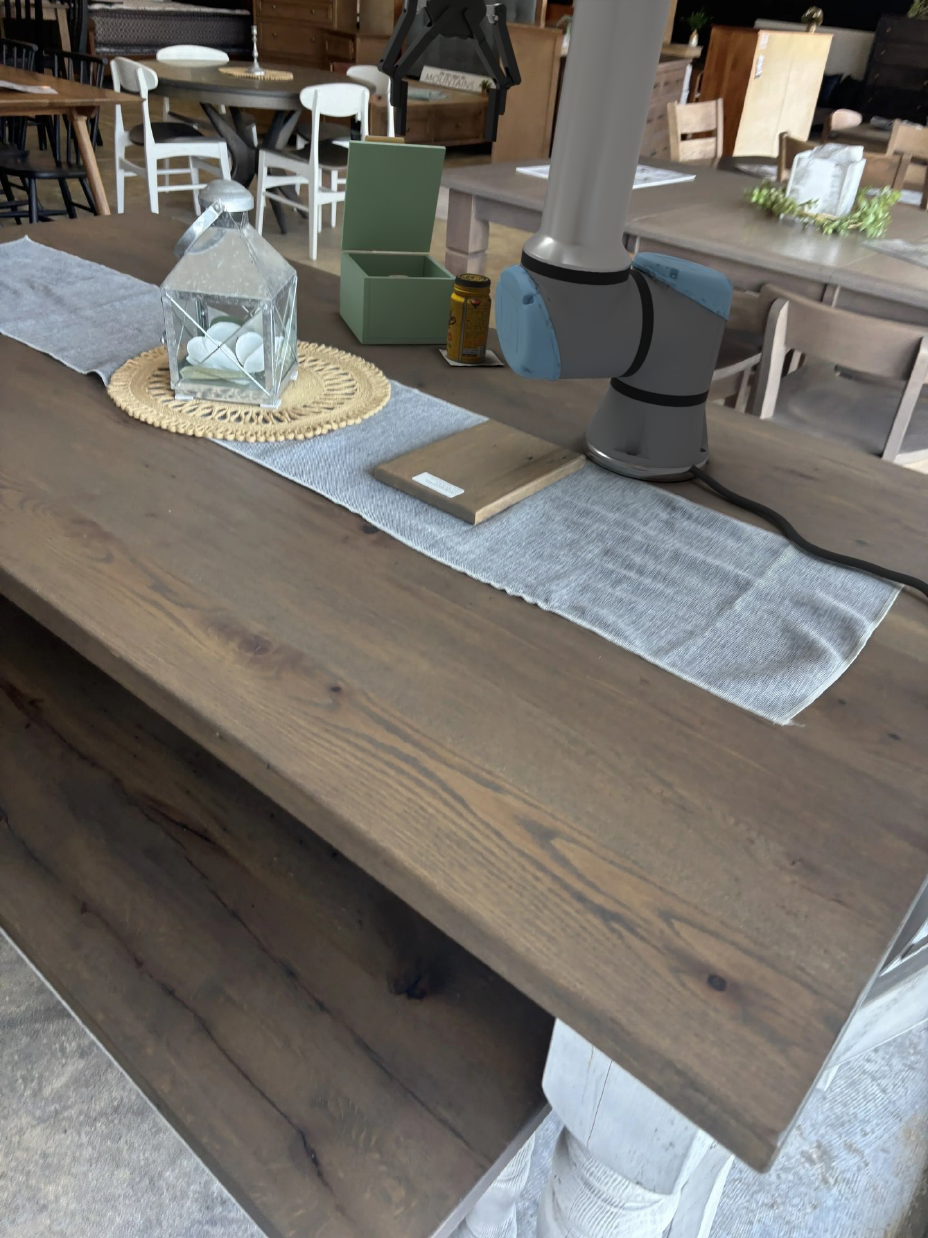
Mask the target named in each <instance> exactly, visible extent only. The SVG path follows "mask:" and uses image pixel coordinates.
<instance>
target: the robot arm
mask: <svg viewBox="0 0 928 1238" xmlns="http://www.w3.org/2000/svg"><path fill="white" fill-rule="evenodd" d="M671 4H672V0H574V7H573V14H572V20H571V27H570V33H569V39H568V46H567V53H566V58H565V59H566V60H565V66H564V71H563V78H562V85H561V91H560V98H559V103H558V104H559V105H558V111H557V116H556V117H557V118H556V124H555V130H554V138H553V143H552V148H551V155H550V163H549V169H548V175H547V182H546V188H545V195H544V201H543V208H542V213H541V221H540V227H539V229H538V230H537V231H536V232H535V233H534V234H532V235H531V236H530V237H529V238H527V239H526V240H525V241H524V242H523V243H522V250H521V256H520V262H519V264H512V265H510V266H507V267H506V268H504V269H503V270H502V271H501V273H500V275H499V278H498V279H497V283H496V287H495V294H494V318H495V327H496V333H497V338H498V341H499V345H500V349H501V352H502V354H503V356H504V359H505V361H506V363H507V364H508V366H509V367H510V368H511V370H512V371H513V372H514V373H515V374H516V375H518V376H519V377H522V378H524V379H533V380H534V379H535V380H547V381H551V382H556V381H558V380H581V379H583V380H584V379H610V381H609V386H608V390H607V391H606V393H605V394H604V397H603V399H602V401H601V402H600V403H599V406H598V408H597V409H596V411H595V413H594V414H593V418H592V419H591V421H590V423H589V424H588V426H587V428H586V430H585V432H584V438H583V445H582V449H583V451H584V453H585V454H586V456H587V458H589V459H590V460H592V462H594V463H596V464H597V465H598V466H600V467H603V468H605V469H606V470H609V471H611V472H614V473H617V474H619V475H623V476H626V477H629V478H635V479H639V480H644V481H651V482H654V481H655V482H680V481H681V482H682V481H686V480H690V479H693V478H695V477H696V478H698V479H699V480H701V482H703V483H705V484H706V485H707V486H708V487H710V488H711V489H712V490H713V491H715V492H716V493H717V494H719V495H720V496H722V497H723V498H725V499H727V500H729V501H731V502H733V503H735V504H737V505H739V506H742V507H744V508H747V509H749V510H752V511H754V512H757V513H758V514H761V515H763V516H764V517H766V518H768V519H770V520H771V521H773V522H775V523H776V524H777V525H778V526H779V527H780V528H781V529H782V531H783V532H784V534H785V535H786V537H788V538H789V539H790V540H791V541H792V543H794V544H795V545H796V546H798V547H799V548H800V549H802V550H803V551H805V552H807V553H808V554H811V555H812V556H815V557H817V558H820V559H822V560H826V561H829V562H832V563H836V564H840V565H842V566H843V565H844V566H847V567H851V568H854V569H858V570H861V571H865V572H867V573H870V574H872V575H876V576H878V577H880V578H882V579H886V580H889V581H892V582H896V583H899V584H903V585H906V586H909V587H912V588H914V589H916V590H917V591H919V592H921V593H922V594H923V595H924V596H925V597H926V598H927V599H928V583H927V582H925V581H924V580H921V579H919V578H918V577H915V576H911V575H909V574H905V573H903V572H898V571H895V570H891V569H889V568H886V567H883V566H880V565H878V564H875V563H872V562H870V561H867V560H863V559H860V558H857V557H853V556H849V555H845V554H842V553H837V552H834V551H831V550H827V549H825V548H822V547H820V546H817V545H815V544H814V543H812V542H809V541H808V540H806V539H805V538H804V537H802V535H801V534H799V533H798V532H797V530H796V529H795V528H794V526H793V525H792V524H791V523H790V522H789V521H788V519H786V518H785V517H784V516H783V515H781V514H780V513H778V512H777V511H775V510H774V509H772V508H770V507H768V506H766V505H764V504H762V503H759V502H757V501H756V500H755V501H754V500H751V499H749V498H747V497H745V496H743V495H740V494H738V493H736V492H734V491H732V490H730V489H729V488H727V487H725V486H723V485H722V484H721V483H719V482H718V481H717V480H716V479H715V478H713V477H712V476H711V475H709V474H708V473H706V472H705V469H706V464H707V461H708V458H709V442H708V441H709V439H708V437H709V436H708V424H707V411H706V410H707V409H706V405H707V400H708V396H709V394H710V393H709V392H710V389H711V384H712V380H713V377H714V373H715V369H716V366H717V362H718V357H719V353H720V350H721V345H722V341H723V337H724V333H725V330H726V326H727V323H728V322H729V321H730V319H731V318H730V312H731V306H732V301H733V295H734V287H733V283H732V281H731V280H730V278H729V277H727V275H725V274H723V273H722V272H720V271H718V270H716V269H714V268H711V267H709V266H706V265H703V264H699V263H697V262H694V261H691V260H688V259H684V258H680V257H677V256H671V255H668V254H664V253H657V252H651V251H642V252H637V253H636V254H635V255H634V257H633V258H632V256H631V255H630V254H629V252H628V250H627V248H626V247H625V246H624V244H623V237H624V232H625V227H626V222H627V217H628V213H629V207H630V202H631V199H632V195H633V194H632V193H633V187H634V183H635V179H636V174H637V169H638V165H639V159H640V154H641V150H642V144H643V141H644V136H645V130H646V127H647V126H646V125H647V122H648V121H647V120H648V115H649V112H650V105H651V101H652V97H653V91H654V87H655V82H656V78H657V77H656V76H657V72H658V68H659V64H660V63H659V62H660V57H661V53H662V48H663V44H664V38H665V33H666V29H667V23H668V21H669V14H670V9H671V6H672V5H671ZM401 9H402V10H401V14H400V15H399V18H398V19H397V22H396V24H395V26H394V28H393V31H392V33H391V35H390V36H389V38H388V41H387V43H386V46H385V47H384V49H383V52H382V54H381V56H380V58H379V60H378V62H377V65H376V68H377V71H378V72H380V73H382V74H384V75H386V76H387V77H388V78H389V81H390V85H389V104H390V106H391V107H393V108H395V119H394V121H395V123H394V134H396V135H398V136H401V137H406V135H407V117H408V116H407V114H408V113H407V112H408V98H409V97H408V95H409V81H407V80H404V79H403V78H404V77H405V76H406V75H407V73H408V72H409V71H410V69H411V68H413V66H414V65H415V63H417V61H418V59H419V58H420V57H421V56H422V54H423V53H424V52H425V51H426V49H427V48H428V47H430V45H431V43H432V42H433V41H434V40H435V39H437V37H438V36H439V38H447V39H452V38H454V39H457V40H466V41H467V40H468V41H469V42H470V44H471V45H472V46H473V48H474V50H475V51H476V54H477V55H478V57H479V58H480V61H481V62H482V64H483V66H484V68H485V70H486V71H487V74H488V75H489V77H490V79H491V80H492V83H493V84H494V86H495V87H489V88H488V98H487V110H486V121H485V132H484V141H487V142H492V143H497V138H498V127H499V118H500V116H504V115H505V113H506V106H507V96H508V91H509V90H510V89H511V88H512V87H515V86H519V85H520V84H521V83H522V75H521V73H520V69H519V65H518V61H517V58H516V55H515V51H514V46H513V43H512V39H511V37H510V36H511V35H510V32H509V28H508V25H507V6H506V4H505V3H493V4H486V0H403V1H402V8H401ZM422 9H424V11H425V13H426V15H427V17H428V19H429V20H428V21H427V22H426V24H425V25H424V26H423V27H422V29H421V31H420V33H419V34H418V35H417V36H416V38H414V40H413V41H412V42H411V44H410V46H408V48H407V49H406V50H405V52H404V53H403V54H402V55H401V57H400V58H399V59H398V60H397V62H396V59H397V57H398V55H399V53H400V51H401V49H402V47H403V45H404V43H405V40H406V38H407V36H408V34H409V32H410V30H411V28H412V26H413V24H414V21H415V18H416V15H419V14H420V13H421V12H422ZM485 17H487V20H488V22H489V23H490V24H491V28H492V32H493V36H494V39H495V43H496V46H497V50H498V54H499V56H500V60H501V63H502V66H501V64H500V62H499V60H498V59H497V57H496V56H495V53H494V52H493V50H492V48H491V46H490V45H489V43H488V41H487V37H486V35H485V33H484V31H483V29H482V27H481V23H482V21H483V20H484V18H485ZM395 62H396V63H395ZM393 65H394V66H393ZM502 67H503V68H502Z"/></svg>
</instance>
